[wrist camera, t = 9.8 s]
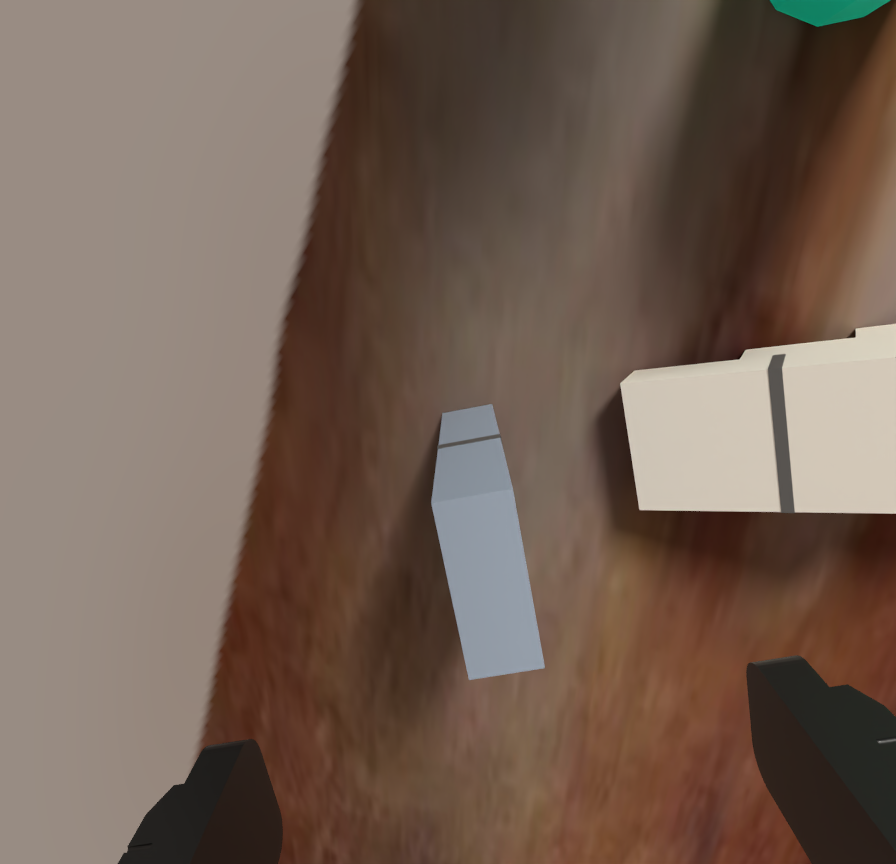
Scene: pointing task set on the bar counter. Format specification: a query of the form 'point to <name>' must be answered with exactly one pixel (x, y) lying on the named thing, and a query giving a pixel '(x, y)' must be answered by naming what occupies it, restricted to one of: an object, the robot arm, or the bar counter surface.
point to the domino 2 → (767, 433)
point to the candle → (827, 9)
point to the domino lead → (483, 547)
